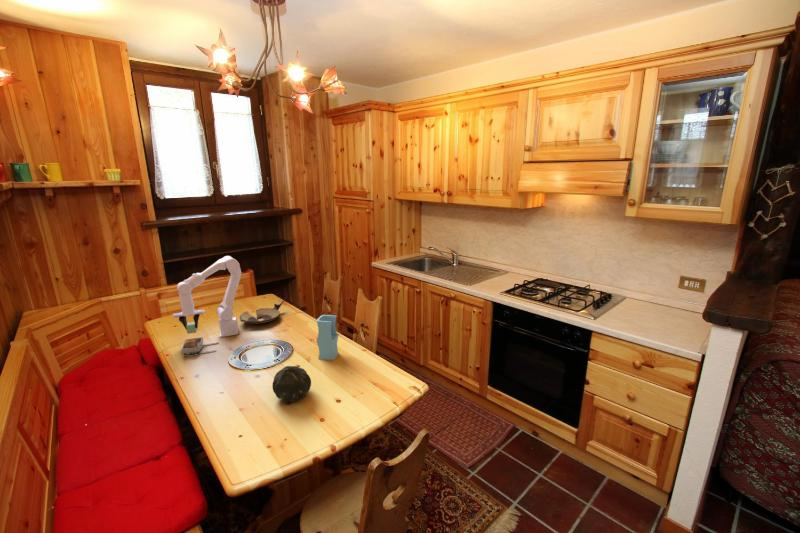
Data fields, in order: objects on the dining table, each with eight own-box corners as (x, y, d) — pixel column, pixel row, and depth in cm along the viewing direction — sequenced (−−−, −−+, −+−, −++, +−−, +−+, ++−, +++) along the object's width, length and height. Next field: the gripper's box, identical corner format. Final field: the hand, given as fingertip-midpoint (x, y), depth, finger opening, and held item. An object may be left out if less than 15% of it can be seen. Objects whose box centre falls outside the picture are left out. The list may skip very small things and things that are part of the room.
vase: (333, 360, 175) (330, 322, 170) (318, 359, 177) (315, 321, 172) (339, 352, 183) (336, 315, 177) (324, 351, 184) (321, 314, 179)
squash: (301, 367, 159) (279, 354, 148) (323, 381, 150) (301, 367, 139) (281, 398, 154) (257, 386, 143) (303, 413, 145) (279, 402, 134)
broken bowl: (234, 321, 222) (232, 309, 220) (281, 308, 241) (280, 298, 239) (246, 333, 206) (244, 321, 204) (296, 318, 224) (295, 307, 222)
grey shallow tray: (203, 343, 193) (202, 337, 192) (200, 353, 183) (199, 346, 182) (186, 346, 190) (185, 339, 189) (182, 356, 180) (181, 349, 179)
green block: (197, 329, 196) (195, 321, 195) (195, 332, 192) (194, 324, 191) (188, 330, 195) (187, 322, 194) (187, 333, 191) (185, 325, 190)
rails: (218, 342, 195) (218, 342, 195) (216, 351, 186) (216, 350, 186) (187, 347, 190) (187, 347, 190) (183, 356, 181) (183, 356, 181)
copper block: (197, 346, 186) (195, 338, 185) (195, 349, 183) (194, 341, 181) (188, 347, 185) (186, 339, 184) (186, 351, 181) (185, 342, 180)
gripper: (203, 300, 195) (208, 323, 199) (173, 303, 191) (178, 327, 195) (201, 304, 189) (206, 328, 193) (169, 308, 184) (175, 332, 188)
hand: (191, 328), depth 193 cm, fingers closed on green block, 4 cm apart
